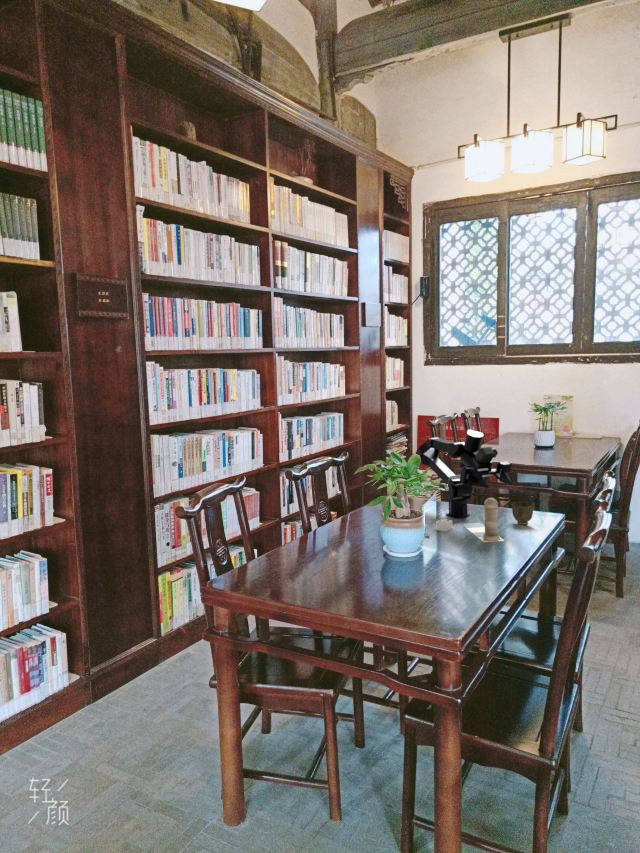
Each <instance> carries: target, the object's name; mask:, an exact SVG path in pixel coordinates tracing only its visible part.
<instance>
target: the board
mask: <svg viewBox="0 0 640 853" xmlns="http://www.w3.org/2000/svg"><path fill="white" fill-rule="evenodd" d="M461 525H462V526H463V527H464V528H465V529H467V530H468V531H469V532H470V533H472V534H473V535H474V536H475V537H476V538H478V539H479V540H480V541H481V542H483V543H493V542H505V541H506V540H505V539H504V538H502V537H501V536H499V540H498V541H486V540H484V539H483V534H484V533H485V524H483V523H482V522H471V523H468V522H467V523H461Z"/></svg>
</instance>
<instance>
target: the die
mask: <svg viewBox="0 0 640 853" xmlns="http://www.w3.org/2000/svg"><path fill="white" fill-rule="evenodd" d="M435 530H436V531H441V532H448V531H451V530H453V520H452V519H446V518H445V519H444V518H441V519H439V520H436V521H435Z"/></svg>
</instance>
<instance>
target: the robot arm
mask: <svg viewBox="0 0 640 853" xmlns="http://www.w3.org/2000/svg"><path fill="white" fill-rule="evenodd" d="M465 434H466V435H465V439H464V441H456V442H455V441H451V440H446V439H443V438H440V437H429V438H427V439H426V440H425V442H424V443H422V444H421V445H419V447H418V448H417V450H416V451H415V454H418V455H420V457H421V463H420V464H421V465H423V466H425V467H429V468H430V469H431V470H432V471H433V472H434V473H435V474H436V475H437V476H438V477H439V478H440V480H441V481H442V482H444V483H445V485H447V484H448V487H449V491H446V490H445V491H444V493H443V497H444V500H445V501H448V513H447V512H446V513H445V515H446V516H447V517H452V518H456V519H461V518H465V517H469V516H471V515H470V513H468V502H467V501H468V500H471V498H472V494H473V488H474V486H475V487H480V488H485V489H489V488H490V485H489V483H488V482H487V481H486V480H485V479H487V478H489V477H495V479H496V480H498V482H501V483H503V484H506V485H509V486H511V485H512V483H513V481H512V479H511V477H510V472H511V468H512V464H511V463H510V462H509V461H500V462H498V463H497V464H496V468H492V466H493V461H492V460H493V458H496V457H497V455H498V454H499V452H498V450H497V449H496V448H495V447H491V446H486V447H482V444H483V438H484V433H483V432H482V431H477V430H473V429H466V432H465ZM441 452H444V453H447V456H448V457H449V458H451V459H459V468H460V469H461V472H460V474H455V473H454V472H453V471H452V470H451V469H450V468H449V467H448V466H447V465H446V463H444V462H443V461H442V460H441V459H440V458H439V456H440V453H441ZM415 454H414V455H415Z"/></svg>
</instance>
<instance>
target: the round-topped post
mask: <svg viewBox="0 0 640 853" xmlns="http://www.w3.org/2000/svg"><path fill="white" fill-rule="evenodd" d="M483 505H484V525H485V533H484V534H483V539H484V540H486V541H498V540H499V537H500V534H499V531H498V530H499V528H498V527H499V526H498V525H499V524H498V523H499V522H498V520H499V519H498V518H499V517H498V516H499V515H498V509H499V508H498V507H499V503H498V501H497V499H496V498H494V497H488V498H486V499H485V500H484V503H483ZM498 542H499V541H498Z"/></svg>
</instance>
